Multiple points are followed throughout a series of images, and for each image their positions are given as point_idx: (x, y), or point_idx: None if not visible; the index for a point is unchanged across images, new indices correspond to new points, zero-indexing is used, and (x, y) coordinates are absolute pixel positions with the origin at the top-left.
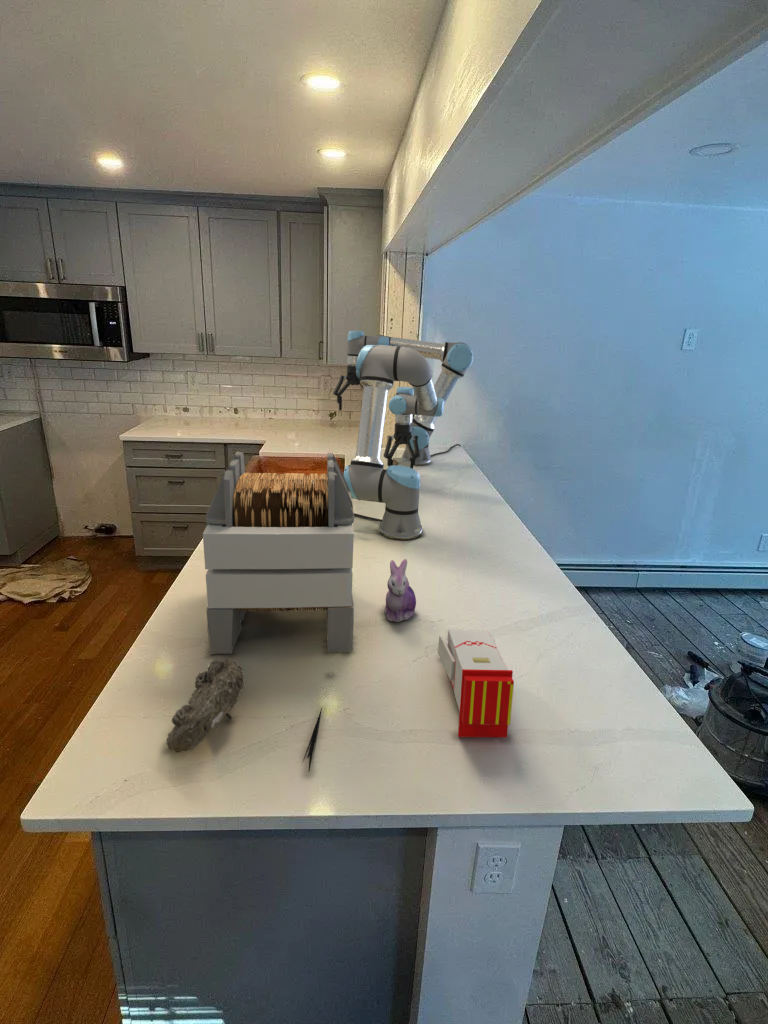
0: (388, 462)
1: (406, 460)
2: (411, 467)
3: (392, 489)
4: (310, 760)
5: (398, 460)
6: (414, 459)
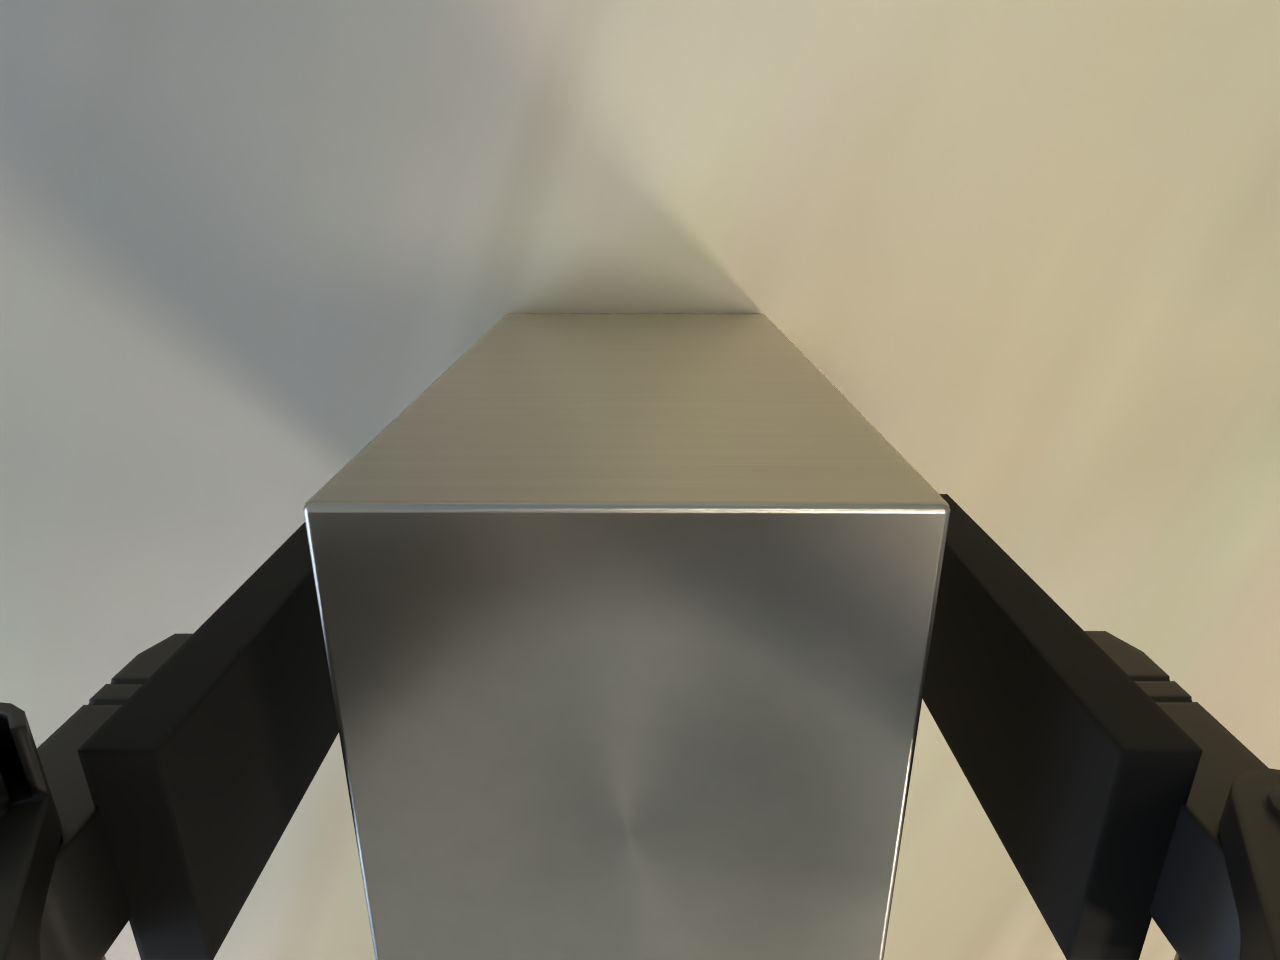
0: (1211, 720)
1: (455, 701)
2: None
3: None
4: None
5: (817, 748)
6: (49, 775)
